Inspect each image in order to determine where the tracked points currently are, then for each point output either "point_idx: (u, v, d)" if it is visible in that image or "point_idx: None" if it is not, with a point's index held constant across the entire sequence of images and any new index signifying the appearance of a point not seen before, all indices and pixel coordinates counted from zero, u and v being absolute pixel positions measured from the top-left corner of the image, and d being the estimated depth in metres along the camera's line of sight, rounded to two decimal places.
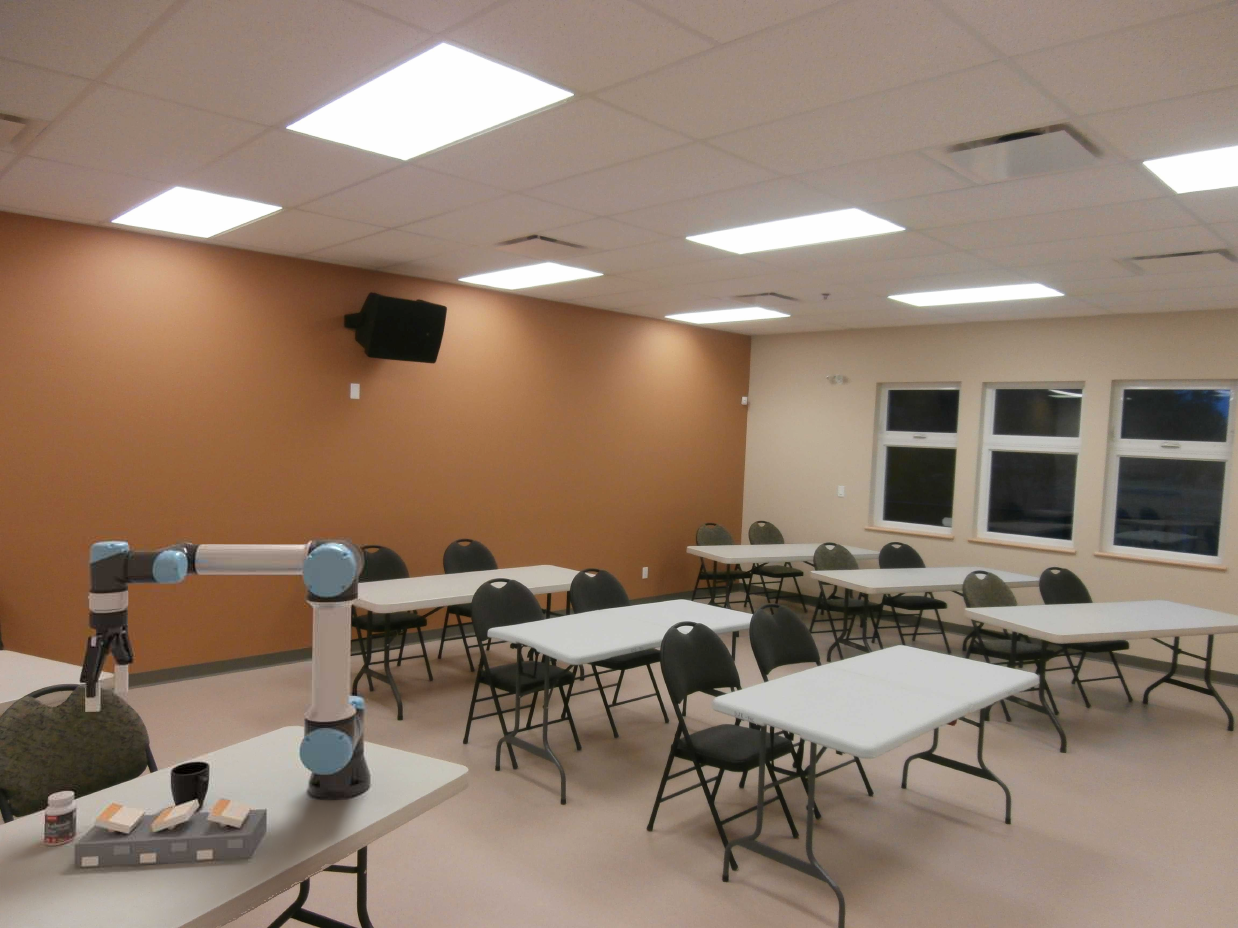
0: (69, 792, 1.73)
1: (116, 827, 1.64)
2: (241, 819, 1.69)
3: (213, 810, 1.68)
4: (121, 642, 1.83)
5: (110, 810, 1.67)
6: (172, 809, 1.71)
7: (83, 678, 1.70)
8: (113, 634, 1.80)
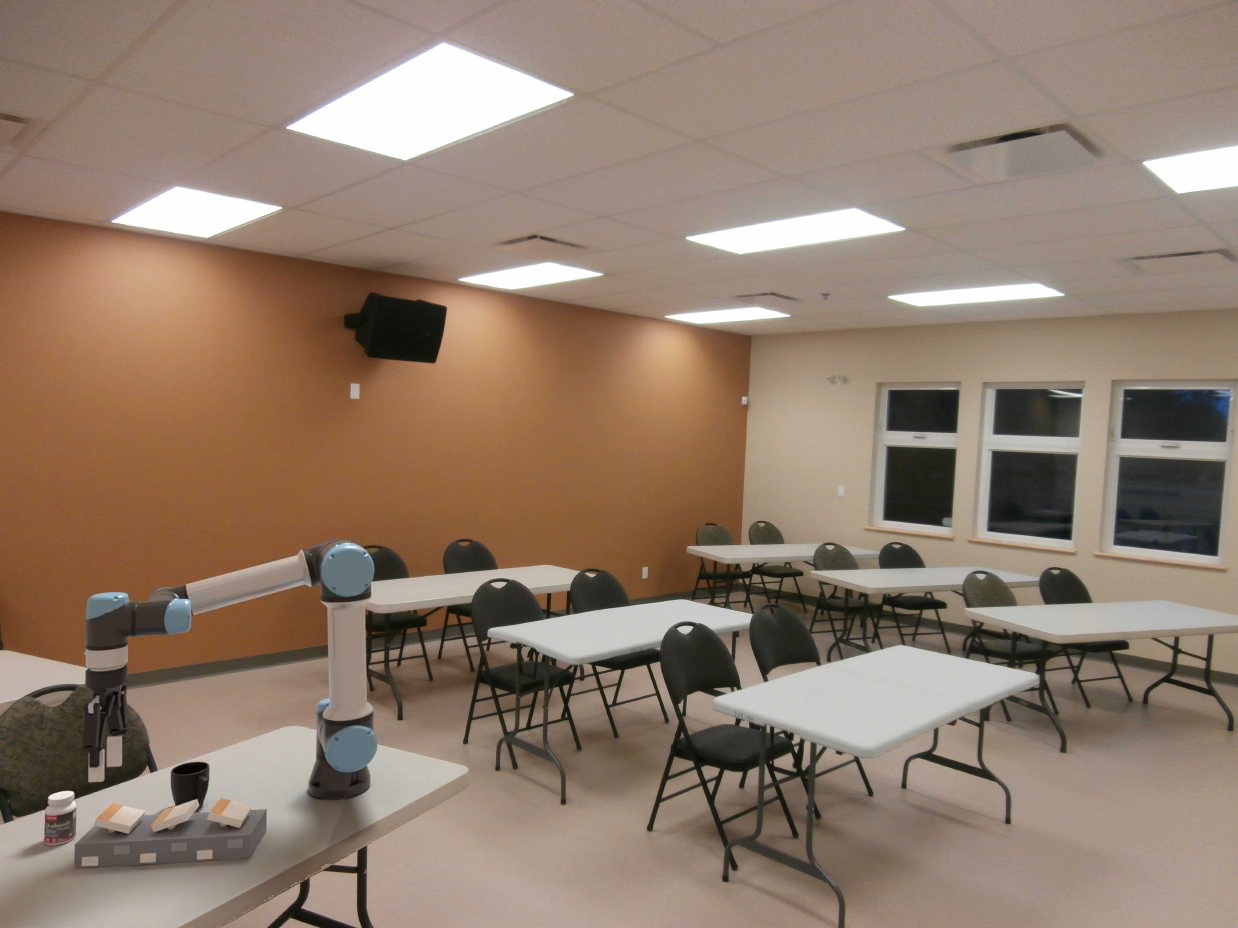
0: (69, 792, 1.73)
1: (116, 827, 1.64)
2: (241, 819, 1.69)
3: (213, 810, 1.68)
4: (119, 703, 1.69)
5: (110, 810, 1.67)
6: (172, 809, 1.71)
7: (86, 748, 1.60)
8: (112, 693, 1.67)
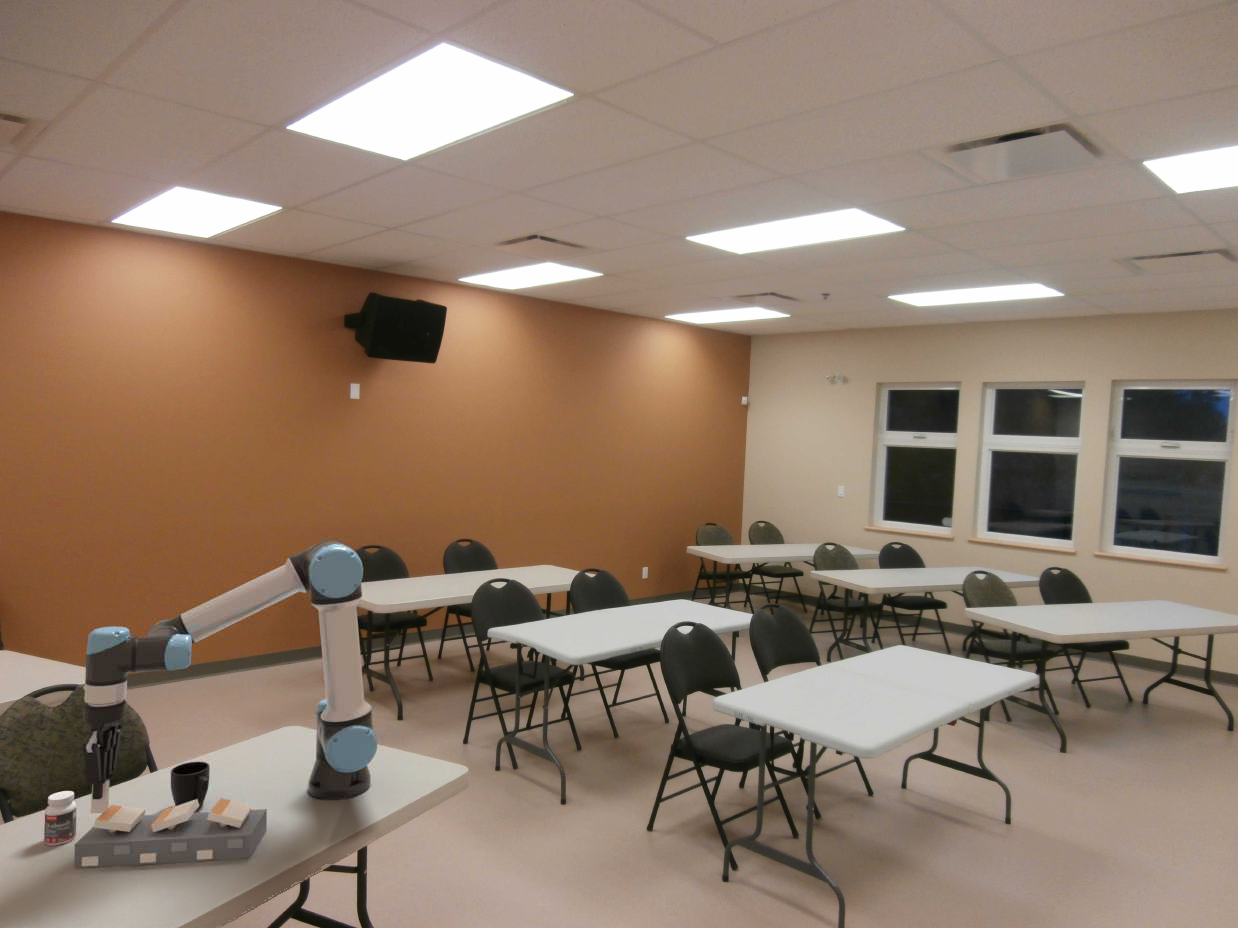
0: (69, 792, 1.73)
1: (116, 827, 1.64)
2: (241, 819, 1.69)
3: (213, 810, 1.68)
4: (114, 740, 1.68)
5: (109, 811, 1.67)
6: (172, 809, 1.71)
7: (90, 780, 1.63)
8: (109, 728, 1.67)
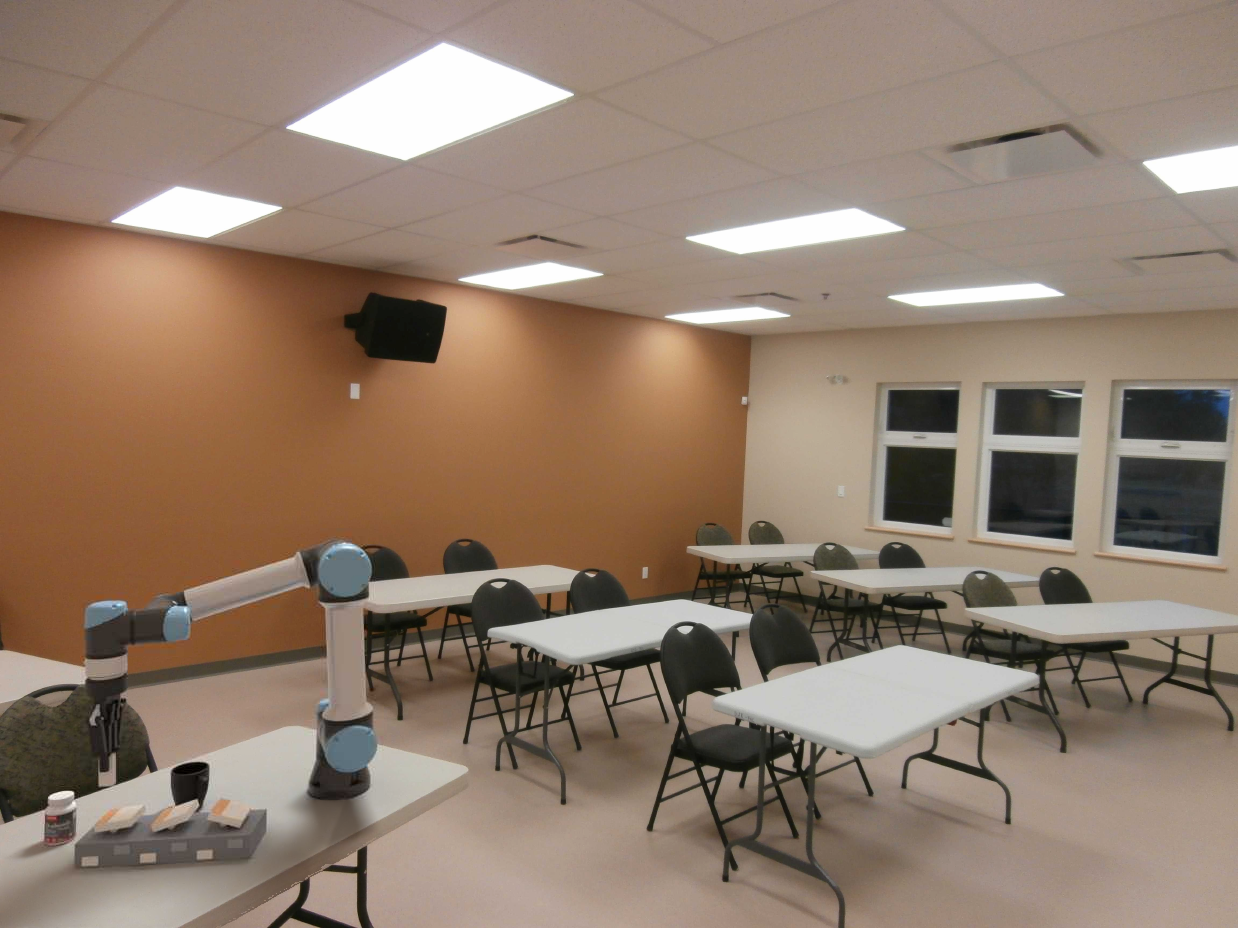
0: (69, 792, 1.73)
1: (117, 825, 1.64)
2: (241, 819, 1.69)
3: (213, 810, 1.68)
4: (117, 713, 1.68)
5: (107, 815, 1.67)
6: (172, 809, 1.71)
7: (96, 753, 1.63)
8: (112, 701, 1.67)
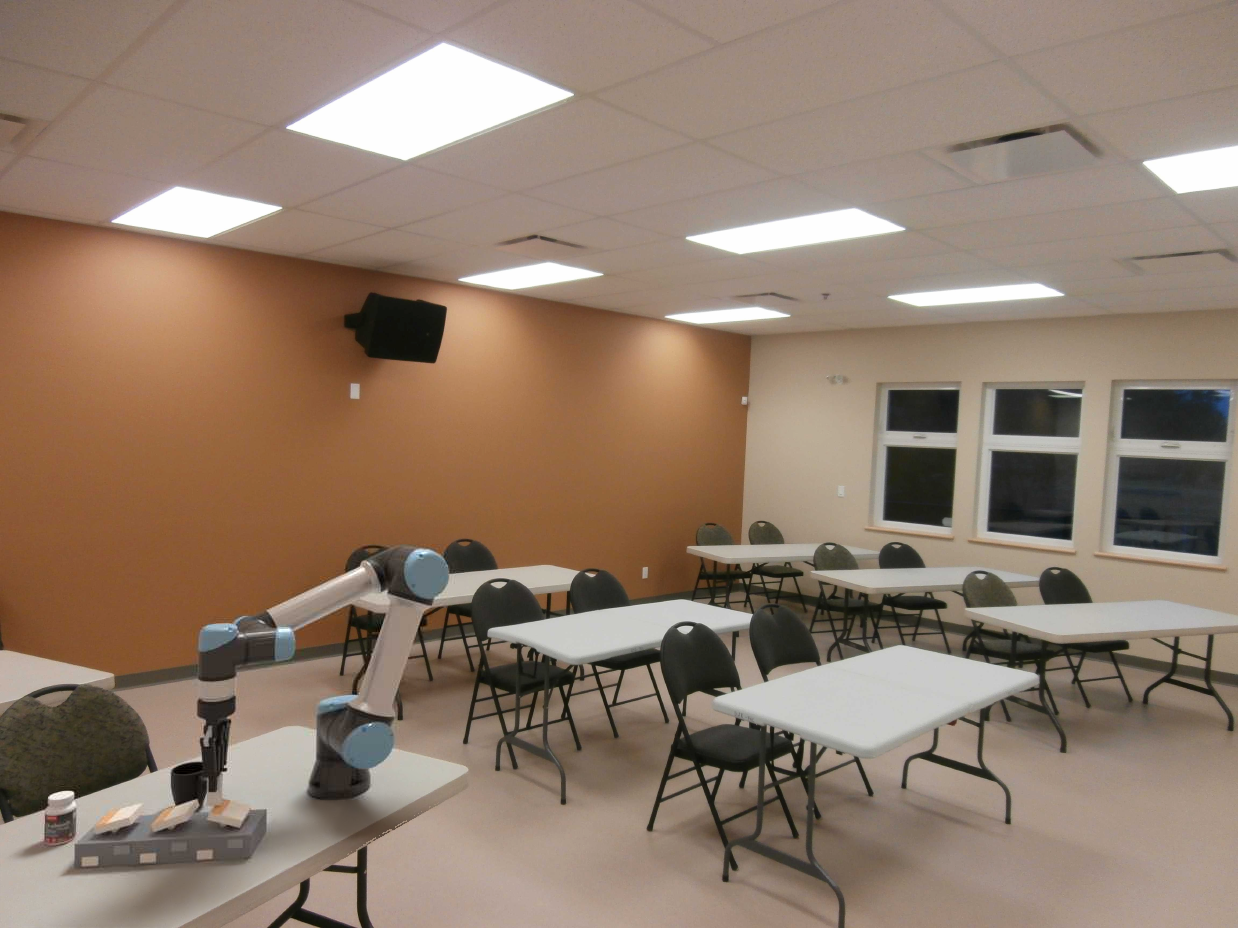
0: (69, 792, 1.73)
1: (117, 825, 1.64)
2: (241, 819, 1.69)
3: (213, 810, 1.68)
4: (225, 734, 1.72)
5: (107, 816, 1.67)
6: (172, 809, 1.71)
7: (207, 773, 1.67)
8: (221, 722, 1.70)
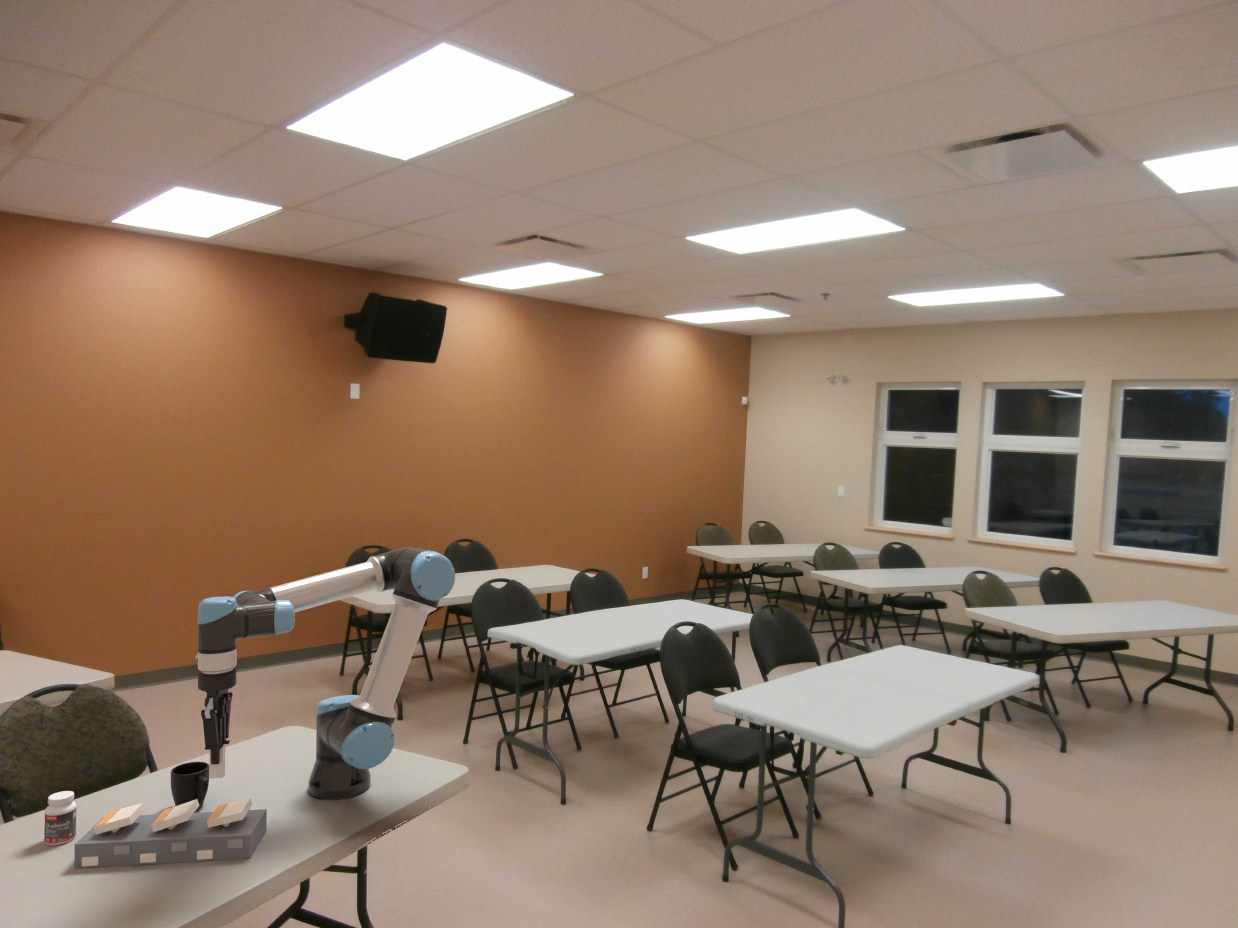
0: (69, 792, 1.73)
1: (117, 825, 1.64)
2: (240, 812, 1.68)
3: (210, 817, 1.68)
4: (227, 707, 1.72)
5: (107, 816, 1.67)
6: (172, 809, 1.71)
7: (209, 745, 1.67)
8: (222, 695, 1.70)
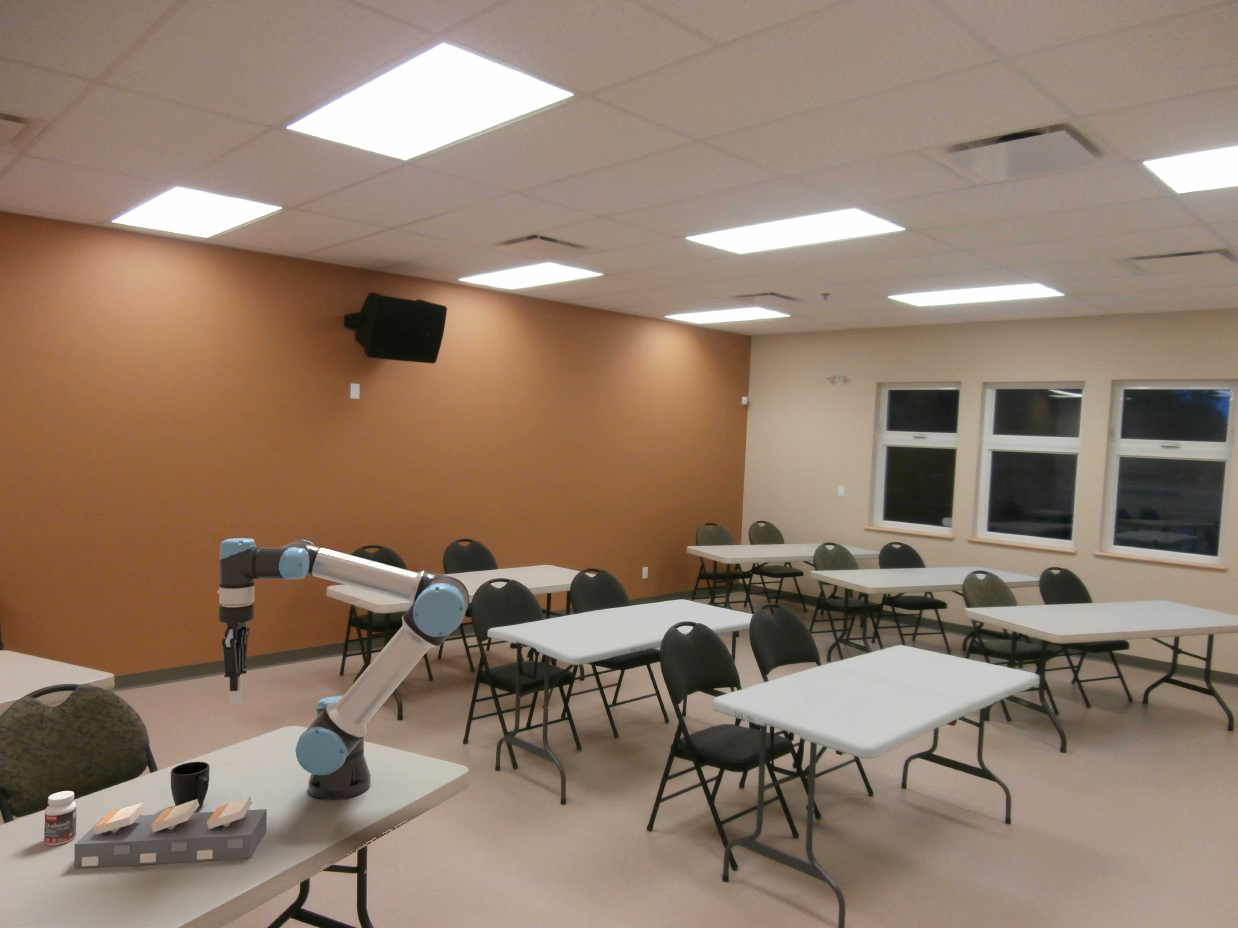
0: (69, 792, 1.73)
1: (117, 825, 1.64)
2: (239, 810, 1.68)
3: (210, 818, 1.68)
4: (245, 639, 1.87)
5: (107, 816, 1.67)
6: (172, 809, 1.71)
7: (228, 673, 1.82)
8: (241, 628, 1.86)
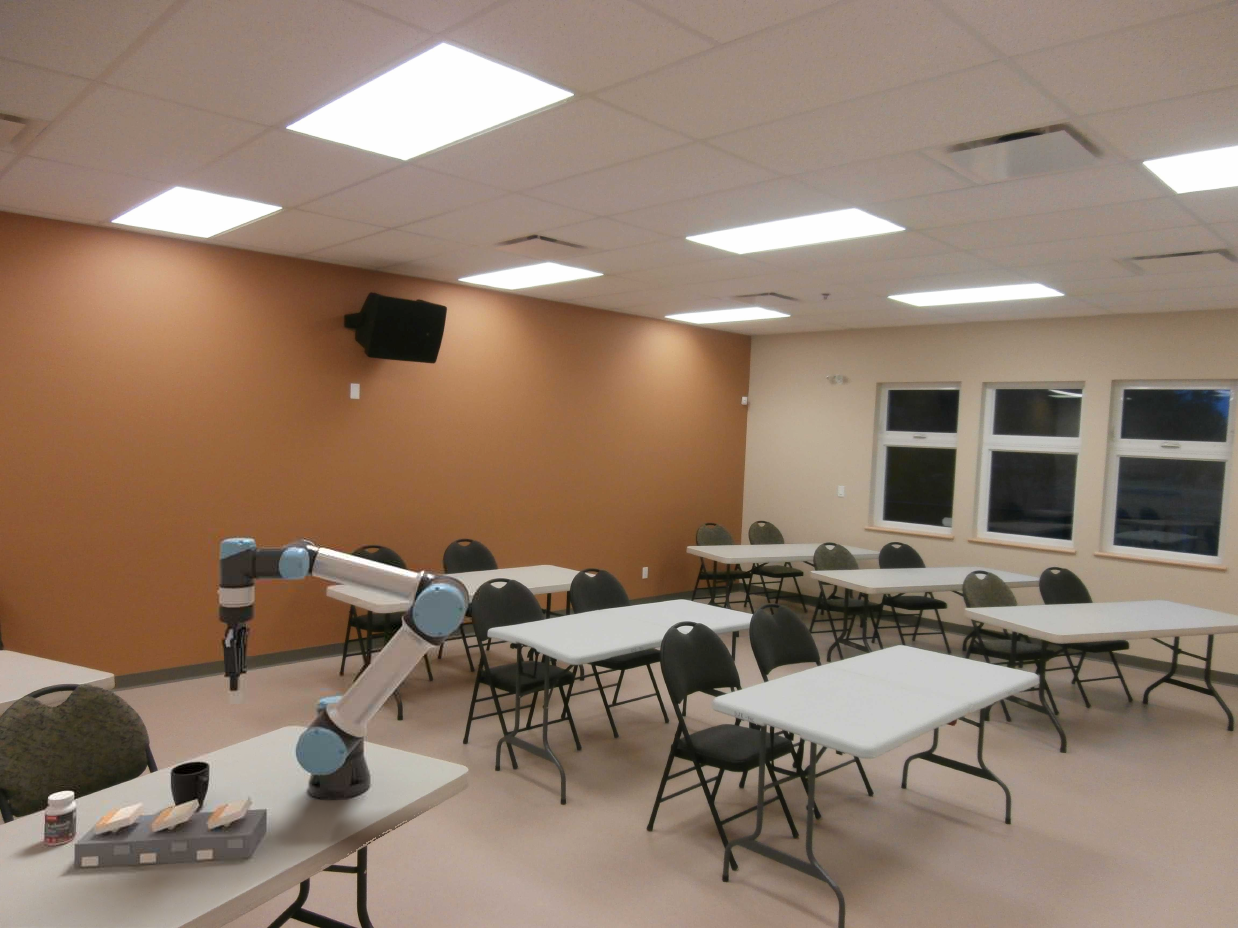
0: (69, 792, 1.73)
1: (117, 825, 1.64)
2: (239, 810, 1.68)
3: (210, 819, 1.68)
4: (245, 639, 1.87)
5: (107, 816, 1.67)
6: (172, 809, 1.71)
7: (228, 673, 1.82)
8: (241, 628, 1.86)
